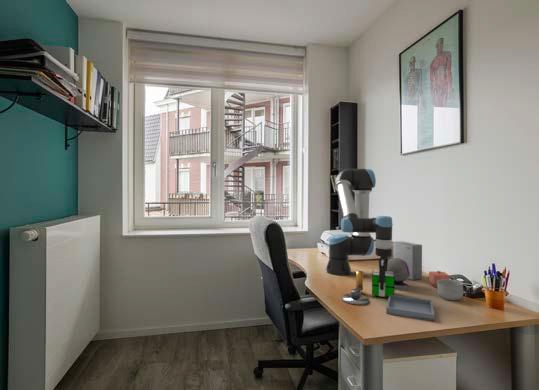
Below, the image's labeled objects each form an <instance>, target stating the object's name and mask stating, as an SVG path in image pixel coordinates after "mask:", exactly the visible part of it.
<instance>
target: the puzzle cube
mask: <svg viewBox="0 0 539 390" xmlns="http://www.w3.org/2000/svg"><path fill="white" fill-rule="evenodd" d="M371 278H372V280H371V282H372V283H371V295H372V296H378V297H380V296H379V282H378V281H379V269H372V274H371ZM394 287H395V277H394V272H392V271H385V297H384V298H389V294H390V295H395V290H396V289H395V288H394Z"/></svg>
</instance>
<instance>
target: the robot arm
mask: <svg viewBox="0 0 539 390" xmlns="http://www.w3.org/2000/svg"><path fill="white" fill-rule="evenodd" d="M376 181H377V180H376V173H375V172H374V170H373V169H370V168H345V169H343V170H341V171H340V172H338V174H337V175H336V177H335V180H334V182H333V183H334V189H335V191H336V192H337V195H338V199H339V203H340V208H341V212H342V215H343V216H342V217H343V218H341V220H340V229H341V232H343V234H342V233H340V234H334V235H331V236H330V237H329V240H328V242H329V243H328V246H329V247H328V249H329V251H328V253H329V254H328V255H329V257H328V262H327V265H326V268H325V269H326V271H327V272H326V273H328V274H330V273H331V275H336V276H346V275H351V274H352V268H351V264H350V261H349V256H358V257H361V256H362V257H365V256H370V255H372V254H373V252H374V248H375V252H374V253H375V255H376V257H380V258H379V259H378V270H379V281H378V282H379V296H378V297H384V298H386V297H385V271H387V265H388V260H389V259H388V258H390V257H393V242H394V241H393V225H394V224H393V218H392V216H387V215H377V216H376V217H370V218H369V216H370V193H371V192H372V191H373V189H374V188H375V187H376ZM352 192H353V193H354V197H353V193H352ZM347 233H350V234H351V236H349V234H347ZM371 233H374V234H375V240H374V237H373V236H371V235H372V234H371Z"/></svg>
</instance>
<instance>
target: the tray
mask: <svg viewBox="0 0 539 390" xmlns="http://www.w3.org/2000/svg"><path fill="white" fill-rule="evenodd" d="M387 298H388V299H387V302H386V309H385V311H386V314H387V315H388V314H389V315H395V316H400V317H406V318H412V319H419V320H424V321H425V320H426V321H429V320H431V322H435V310H434V305H433V304H434V303H433V300H431V299H423V298H417V297H411V296H410V297H409V296H404V295H403V296H402V295H396V294H394V295H390V294H389V297H387Z"/></svg>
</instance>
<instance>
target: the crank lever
mask: <svg viewBox="0 0 539 390" xmlns="http://www.w3.org/2000/svg"><path fill="white" fill-rule="evenodd" d="M355 276H356V277H355V278H356V279H355V280H356V281H355V288H353V289H351V290H350V294H351V297H352V298H356V299H358V298H360V295H361V292H362V291H363V290H364V289H363V288H364V271H362V270H356V275H355Z"/></svg>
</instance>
